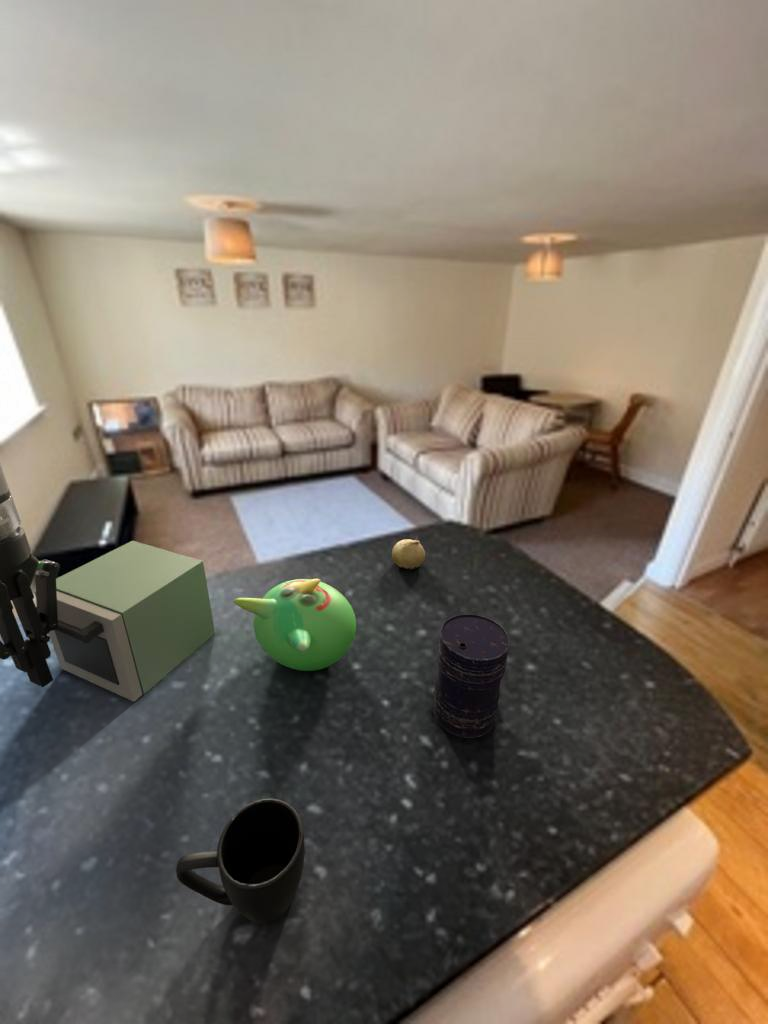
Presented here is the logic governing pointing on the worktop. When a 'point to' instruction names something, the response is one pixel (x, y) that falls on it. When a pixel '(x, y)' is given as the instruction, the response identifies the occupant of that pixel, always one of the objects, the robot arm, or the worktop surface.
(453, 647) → the dark oil drum
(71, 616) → the door
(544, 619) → the worktop surface
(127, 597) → the oven
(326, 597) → the toy bird
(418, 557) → the onion
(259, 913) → the mug
